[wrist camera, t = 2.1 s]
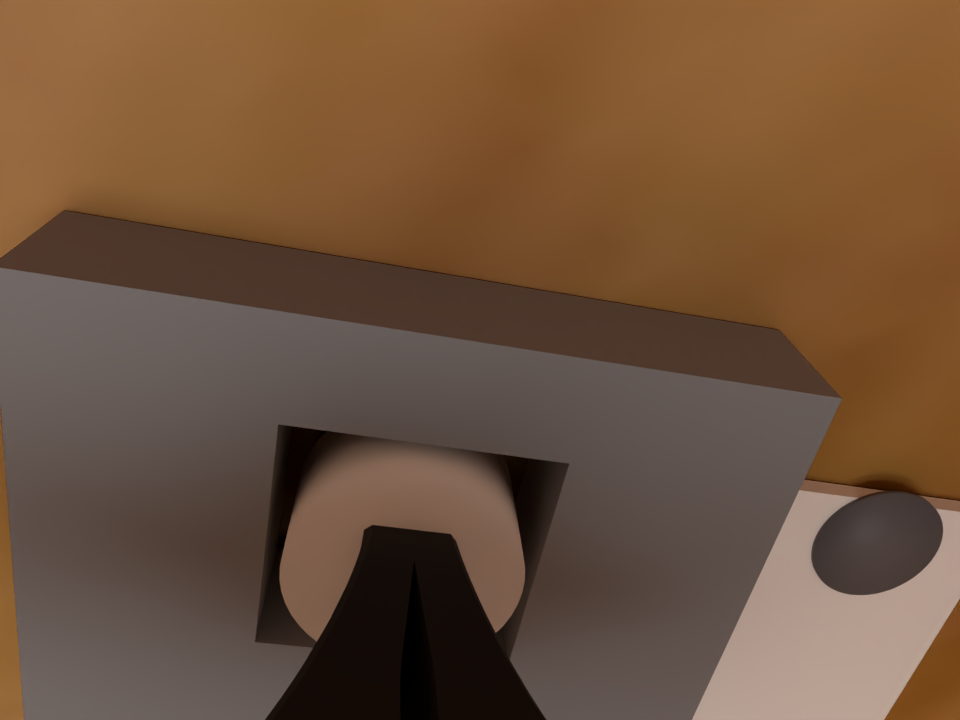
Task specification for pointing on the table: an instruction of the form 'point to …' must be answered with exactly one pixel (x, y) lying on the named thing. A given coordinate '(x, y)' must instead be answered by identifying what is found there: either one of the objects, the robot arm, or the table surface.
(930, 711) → the table surface
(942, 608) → the pattern card
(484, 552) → the button
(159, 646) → the button board
